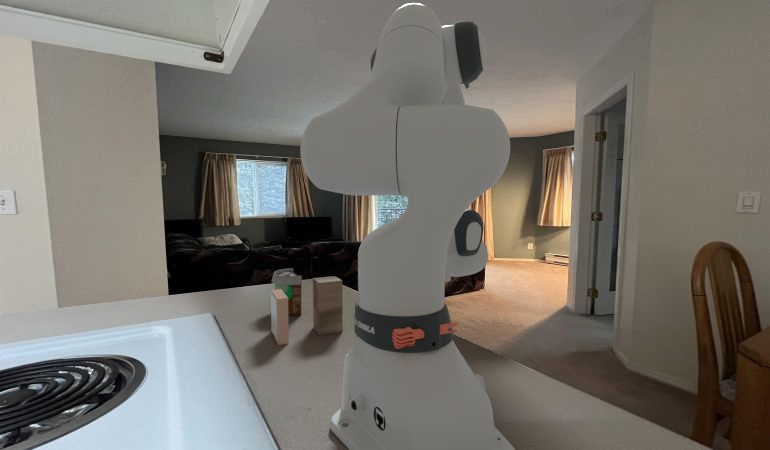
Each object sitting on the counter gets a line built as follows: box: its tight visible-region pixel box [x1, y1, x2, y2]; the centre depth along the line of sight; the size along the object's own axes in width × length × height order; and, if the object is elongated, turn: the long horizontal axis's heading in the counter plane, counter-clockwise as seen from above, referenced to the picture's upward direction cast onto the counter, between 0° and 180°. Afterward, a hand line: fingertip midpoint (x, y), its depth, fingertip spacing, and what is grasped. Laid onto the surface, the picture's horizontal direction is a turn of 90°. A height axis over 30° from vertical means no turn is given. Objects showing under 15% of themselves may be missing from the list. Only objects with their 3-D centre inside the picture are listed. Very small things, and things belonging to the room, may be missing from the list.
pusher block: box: [312, 275, 344, 337], centre depth 75 cm, size 5×5×11 cm
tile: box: [270, 289, 290, 346], centre depth 71 cm, size 8×2×9 cm, turn 26°
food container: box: [271, 267, 303, 317], centre depth 88 cm, size 12×6×10 cm, turn 25°
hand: (378, 266), depth 80 cm, fingers open, 8 cm apart
